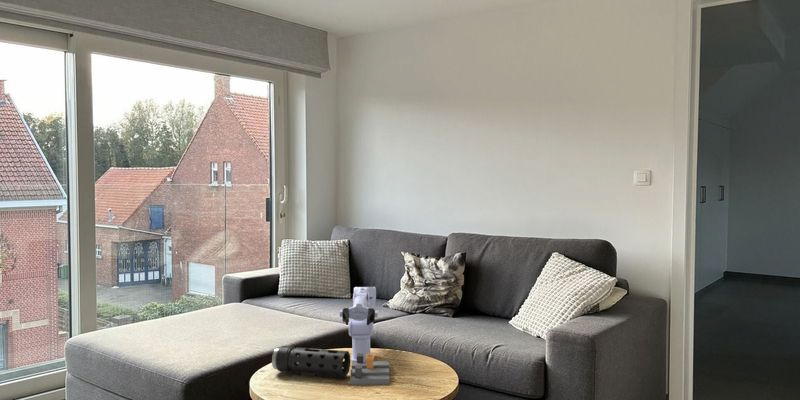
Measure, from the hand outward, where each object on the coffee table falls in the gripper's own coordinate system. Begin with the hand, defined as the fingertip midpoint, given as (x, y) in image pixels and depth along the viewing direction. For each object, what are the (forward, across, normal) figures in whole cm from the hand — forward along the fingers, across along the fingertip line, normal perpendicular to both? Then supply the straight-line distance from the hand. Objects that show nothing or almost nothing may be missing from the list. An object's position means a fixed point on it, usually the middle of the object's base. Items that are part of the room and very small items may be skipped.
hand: (357, 322), depth 224 cm
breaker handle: (+2, +5, +17) cm, 18 cm away
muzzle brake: (+2, -17, +21) cm, 27 cm away
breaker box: (+3, +5, +20) cm, 20 cm away
